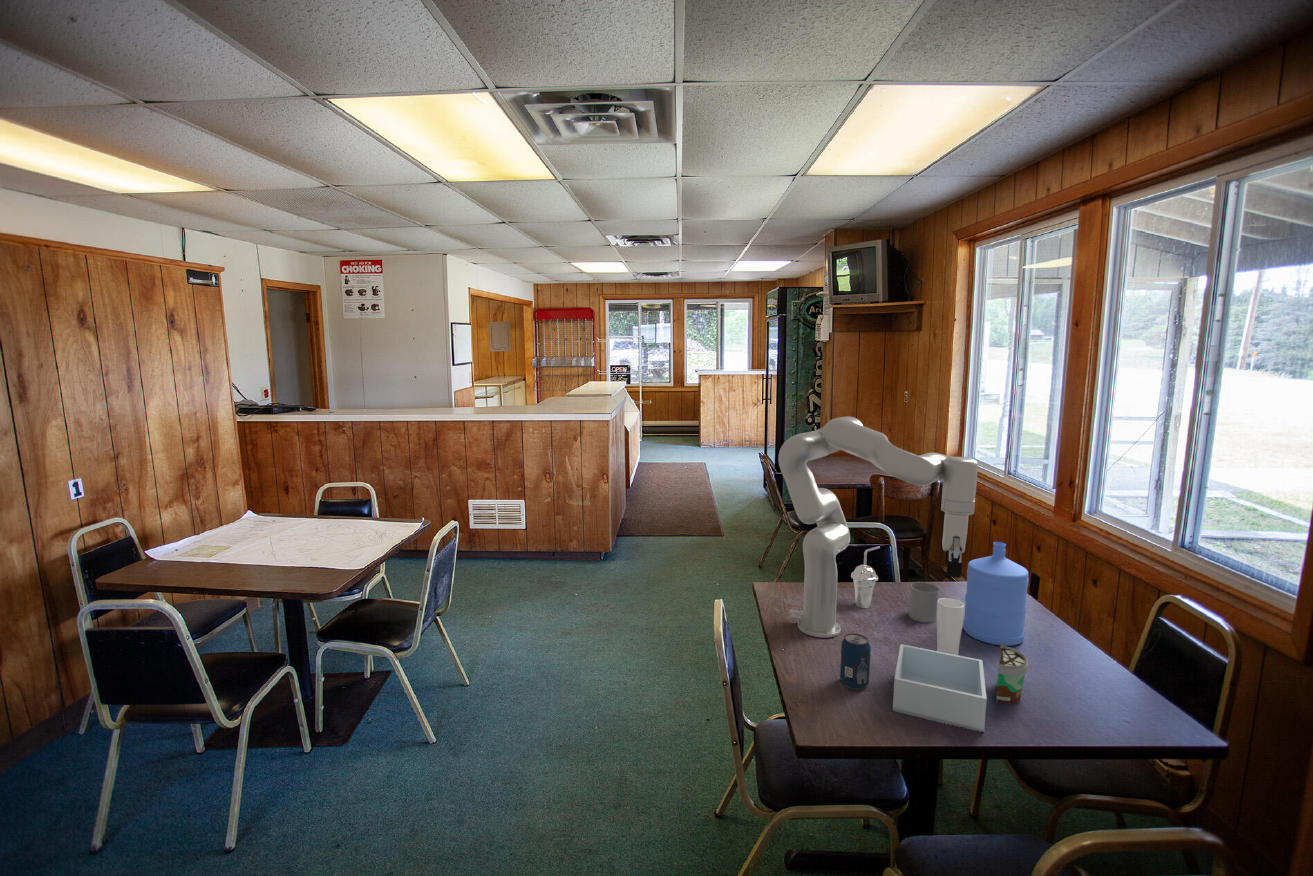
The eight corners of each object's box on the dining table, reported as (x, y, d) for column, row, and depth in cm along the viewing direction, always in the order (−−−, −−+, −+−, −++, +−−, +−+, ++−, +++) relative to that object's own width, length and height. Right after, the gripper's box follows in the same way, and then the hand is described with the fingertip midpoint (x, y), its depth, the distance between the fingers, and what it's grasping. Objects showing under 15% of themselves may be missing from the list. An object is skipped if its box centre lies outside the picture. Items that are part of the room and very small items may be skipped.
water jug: (1012, 653, 164) (1020, 556, 160) (954, 633, 175) (960, 542, 172) (1031, 635, 174) (1039, 544, 170) (974, 618, 185) (981, 532, 182)
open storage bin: (892, 711, 136) (894, 678, 135) (898, 673, 153) (900, 644, 152) (983, 733, 128) (986, 699, 127) (980, 690, 145) (982, 660, 144)
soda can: (848, 673, 153) (850, 629, 151) (873, 683, 148) (876, 638, 147) (834, 683, 148) (836, 638, 147) (860, 694, 143) (863, 648, 142)
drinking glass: (964, 661, 159) (968, 608, 157) (937, 659, 160) (940, 606, 158) (956, 649, 166) (960, 598, 164) (931, 647, 167) (934, 596, 165)
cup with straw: (848, 599, 200) (850, 542, 198) (876, 601, 198) (879, 544, 196) (851, 609, 192) (853, 550, 189) (880, 612, 190) (883, 552, 188)
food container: (1026, 713, 136) (1029, 672, 134) (995, 704, 139) (998, 665, 138) (1026, 688, 146) (1029, 650, 145) (997, 681, 149) (1000, 643, 148)
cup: (939, 615, 188) (941, 585, 186) (935, 625, 181) (937, 594, 179) (910, 609, 192) (912, 580, 191) (906, 618, 185) (908, 588, 184)
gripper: (940, 497, 158) (936, 558, 161) (942, 512, 143) (937, 579, 145) (972, 499, 155) (966, 562, 158) (977, 515, 140) (971, 584, 142)
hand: (952, 570), depth 151 cm, fingers open, 9 cm apart
